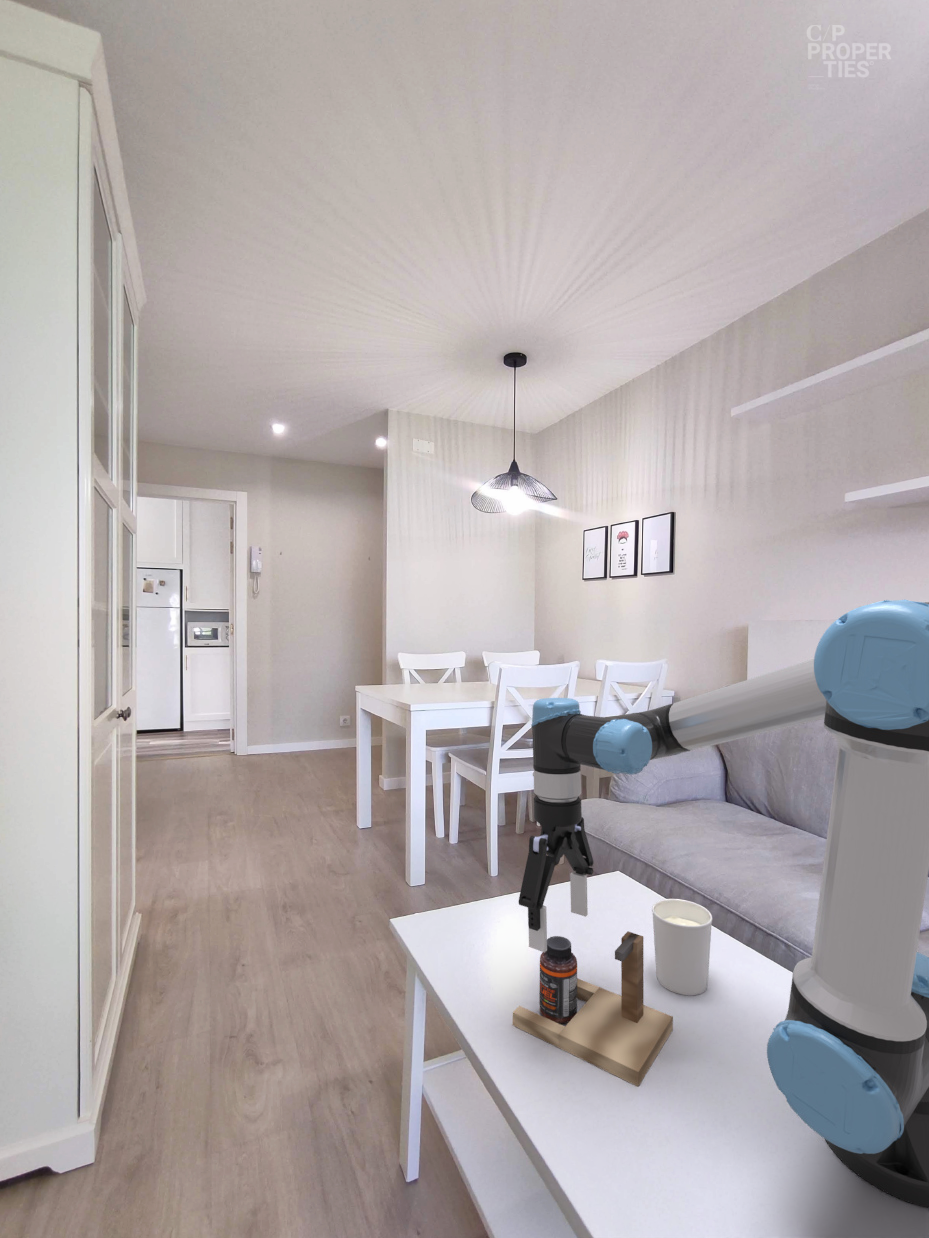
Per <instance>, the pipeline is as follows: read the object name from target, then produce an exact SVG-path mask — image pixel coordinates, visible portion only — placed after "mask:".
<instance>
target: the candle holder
mask: <svg viewBox="0 0 929 1238" xmlns="http://www.w3.org/2000/svg"><path fill="white" fill-rule="evenodd" d="M651 907H652V908H651V913H652V922H653V923H652V924H653V927H652V928H653V940H654V941H653V943H654V958H655V973H656V979H657V981H658V983H659V984H660V985H661V986H662V987H663V988H665V989H666V990H668V991H670V992H673V993H674V994H678V995H682V996H699V995H701V994H703V993H705V991H706V990H707V988H708V986H709V985H708V984H709V973H710V972H709V971H710V968H709V967H710V958H711V957H710V953H711V941H712V940H711V938H712V925H713V924H712V923H713V915H712V913H711V912H710V911H709V909H707V908H706V907H704V906H702V905H701V904H699V903H696V902H693V901H690V900H685V899H681V898H666V899H661V900H658V901H656V902H654V903H653V904H652V906H651Z"/></svg>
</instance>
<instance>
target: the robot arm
mask: <svg viewBox="0 0 929 1238" xmlns="http://www.w3.org/2000/svg"><path fill="white" fill-rule="evenodd" d="M531 717H532V719H531V726H530V727H531V729H532V730H531V731H532V734H531V735H532V757H533V759H532V764H533V765H532V768H533V773H532V777H533V793H534V794H535V796H534V797H533V818H534V820H535V822H537V823H538V824H539V825H540V827H541V829H540V835H539V836H535V835H530V837H529V839H528V853H527V854H528V855H527V859H526V864H525V869H524V873H523V877H522V878H523V879H522V882H521V888H520V893H519V896H518V905H519V906H522V907H525V908H527V922H528V924H527V925H528V947H529V948H531V949H534V950H537V951H539V952H541V953H543V952H546V951H547V939H548V931H547V930H548V928H547V926H548V925H547V917H548V915H547V906H546V905H544V902H545V900H546V896H547V893H548V890H549V886H550V883H551V880H552V877H553V874H554V870H555V867H556V866H558V865H559V864H560V862H561V859H562V858H563V856H564V857H565V858H566V860H567V862H568V863H569V866H570V867H571V869H572V872H570V874H569V877H570V878H569V879H570V881H569V882H570V884H569V885H570V912H571V913H573V914H576V915H578V916H583V917H587V916H588V914H589V913H588V876H589V875H590V876H592V875H593V873H594V868H593V866H594V859H593V855H592V852H591V847H590V845H589V841H588V837H587V833H586V830H585V818H584V817H583V816H582V799H581V797H580V796H581V795H582V773H581V765H582V766H585V767H590V768H594V769H598V770H602V771H606V772H609V773H612V774H617V775H619V774H623V775H631V776H632V775H638V774H639V773H642V771H643V770H644V768H645V767H647V766H648V765H649V763H650V761H653V760H656V759H662V758H666V757H673V756H676V755H677V756H678V755H680V754H683V753H686V752H690V751H693V750H699V749H702V748H706V747H711V746H716V745H719V744H724V743H727V742H732V741H733V742H734V741H736V740H740V739H745V738H749V737H754V736H758V735H762V734H766V733H770V732H776V731H779V730H780V731H781V730H784V729H788V728H791V727H796V726H800V725H804V724H809V723H812V722H817V721H822V720H824V721H823V727H824V729H825V730H826V731H827V732H828V733H829V734H830V735H831V737H832V738H833V739H834V740H835V742H836V743H837V746H838V747H837V755H836V760H835V761H836V762H835V770H834V777H833V785H832V793H831V794H832V796H831V801H830V802H831V803H830V809H829V818H828V826H827V832H826V842H825V850H824V858H823V866H822V872H821V882H820V889H819V895H818V896H819V897H818V904H817V905H818V906H817V912H816V913H817V914H816V920H815V930H814V936H813V944H812V951H811V956H809V957H807V958H804V959H802V960H800V961H798V962H797V963H796V964H795V966H794V969H793V972H792V976H791V977H792V978H791V985H790V991H789V993H790V994H789V1002H788V1009H787V1013H786V1016H785V1019H784V1020H782V1021H779V1022H778V1023H777V1024H776V1025H775V1027H774V1028H773V1031H772V1032H771V1034H770V1037H769V1039H768V1042H767V1044H766V1045H767V1047H766V1057H767V1058H766V1059H767V1063H768V1068H769V1071H770V1073H771V1076H772V1079H773V1080H774V1082H775V1085H776V1087H777V1088H778V1090H779V1091H780V1092H781V1093H782V1094H783V1096H784V1097H785V1099H786V1102H787V1104H788V1106H789V1107H790V1108H791V1109H792V1110H793V1112H794V1114H796V1115H797V1117H799V1118H800V1119H801V1120H802V1121H803V1122H804V1123H805V1124H806V1125H807V1126H808V1127H809V1128H811V1129H812V1131H814V1132H815V1133H816V1134H818V1135H819V1136H820V1137H822V1138H823V1139H825V1141H826V1143H827V1144H828V1146H829V1147H830V1148H831V1150H832V1151H833V1152H834V1154H835V1155H836V1156H837V1157H838V1158H839V1159H840V1160H841V1162H843V1163H844V1164H845V1165H846V1166H847V1167H848V1168H849V1169H850V1170H852V1171H853V1172H854V1173H855V1174H856V1175H858V1176H859V1177H860V1178H862V1179H863V1180H864V1181H866V1182H867V1183H869V1184H871V1185H872V1186H874V1187H875V1188H877V1189H879V1190H881V1191H882V1192H884V1193H885V1194H886V1193H887V1194H888V1195H891V1196H892V1197H895V1198H897V1199H899V1200H902V1201H905V1202H908V1203H910V1204H912V1205H913V1204H914V1205H916V1206H920V1207H926V1208H929V956H927V955H925V954H923V953H920V952H918V948H919V947H918V946H919V939H920V932H921V925H922V917H923V911H924V905H925V897H926V890H927V883H928V876H929V601H928V602H922V601H921V602H920V601H914V600H909V599H899V600H898V599H895V600H890V599H886V600H882V601H880V600H879V601H876V602H873V603H869V604H865V605H862V606H859V607H856V608H854V609H852V610H849V611H848V612H846V613H844V614H843V615H841V616H840V617H838V618H837V619H836V620H834V621H833V622H832V623H831V624H830V625H829V626H828V628H826V630H825V631H824V633H823V634H822V636H821V638H820V639H819V641H818V644H817V645H816V648H815V653H814V657H813V659H809V660H807V661H802V662H800V663H796V664H794V665H791V666H787V667H783V668H781V669H778V670H774V671H771V672H768V673H765V674H762V675H758V676H756V677H753V678H749V679H746V680H743V681H739V682H737V683H734V684H730V685H727V686H724V687H721V688H717V689H714V690H711V691H709V692H705V693H702V694H699V695H696V696H692V697H689V698H686V699H682V700H680V701H679V700H678V701H676V702H673V703H669V704H666V705H662V706H660V707H657V708H654V709H650V710H644V711H640V712H632V713H625V714H619V715H614V716H613V715H612V716H594V715H585V714H582V713H581V710H580V703H579V702H578V700H577V699H573V698H567V697H546V698H545V697H544V698H540V699H537V700H535V702H534V703H533V705H532V716H531Z"/></svg>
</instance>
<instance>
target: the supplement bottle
mask: <svg viewBox="0 0 929 1238" xmlns="http://www.w3.org/2000/svg"><path fill="white" fill-rule="evenodd" d="M539 956H540V957H539V1001H538V1002H539V1003H538V1004H539V1011H540V1013H541V1016H543V1017H545V1018H547V1019H550V1020H552V1021H554V1022H556V1023H558V1024H566V1023H569V1022H570V1021H571V1019H572V1018H573V1017H574V1016H575V1015H576V1014H577V1013H578V1010H577V1009H578V998H577V978H578V959H577V957H576V955H575V954H574V953H573V952H572V943H571V940H570V939H569V938H566V937H565V936H561V935H560V936H559V935H554V936H550V937H547V951H546V952H541V954H540V955H539Z"/></svg>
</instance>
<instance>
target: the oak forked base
mask: <svg viewBox="0 0 929 1238" xmlns="http://www.w3.org/2000/svg"><path fill="white" fill-rule="evenodd" d="M577 1000H581V1001H583V1002H585V1003H584V1005H582V1007H580V1009H579V1010H577V1013H576V1015H575V1016H574V1017H573V1018H572V1019H571V1021H569V1022H567V1024H566V1025H563V1024H561V1023H556V1022H554V1021H552V1020H550V1019H547V1018H545V1017H544V1016H543V1015H542V1014H538V1013H537V1012H534V1011H533V1010H530V1009H528V1008H525V1007H523V1006H522V1005H518V1007H516V1009H514V1010H513V1012H512V1026H513V1027H515V1028H517V1029H519V1030H521V1031H524V1032H526V1033H528V1034H530V1035H532V1036H534V1037H535V1038H537V1039H540V1040H542V1041H544V1042H546V1043H548V1044H550V1045H552V1046H554V1047H556V1048H558V1049H559V1050H563V1051H564V1052H566V1053H568V1054H571V1055H573V1056H575V1057H576V1058H579V1059H581V1060H582V1061H585V1062H587V1063H589V1064H590V1065H593V1066H595V1067H597V1068H599V1069H601V1070H603V1071H605V1072H607V1073H609V1074H611V1075H613V1076H615V1077H618V1078H620V1079H622V1080H624V1081H626V1082H628V1083H630V1084H631V1085H633V1086H636V1087H640V1085H641V1083H642V1082H643V1080H644V1078H645V1077H646V1075H647V1073H648V1071H650V1068H651V1067H652V1066H653V1063H654V1062H655V1060H656V1059H657V1057H658V1055H659V1054H660V1052H661V1050H662V1048H663V1047H664V1046H665V1044H666V1041H668V1038H669V1037H670V1035H671V1034H672V1032H673V1030H674V1016H673V1015H670V1014H667V1013H666V1012H662V1011H660V1010H658V1009H655V1008H654V1007H653V1008H652V1007H650V1006H647V1005H645V1004H643V1016H642V1017H641V1019H640V1020H639V1022H638V1023H635V1022H633V1021H631V1020H628V1019H626V1018H624V1017H621V995H620V994H617V993H615V992H613V991H610V990H607V989H605V988H603V987H600V986H598V985H595V984H592V983H590V982H588V981H585V980H582V979H580V978H578V977H577Z"/></svg>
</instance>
